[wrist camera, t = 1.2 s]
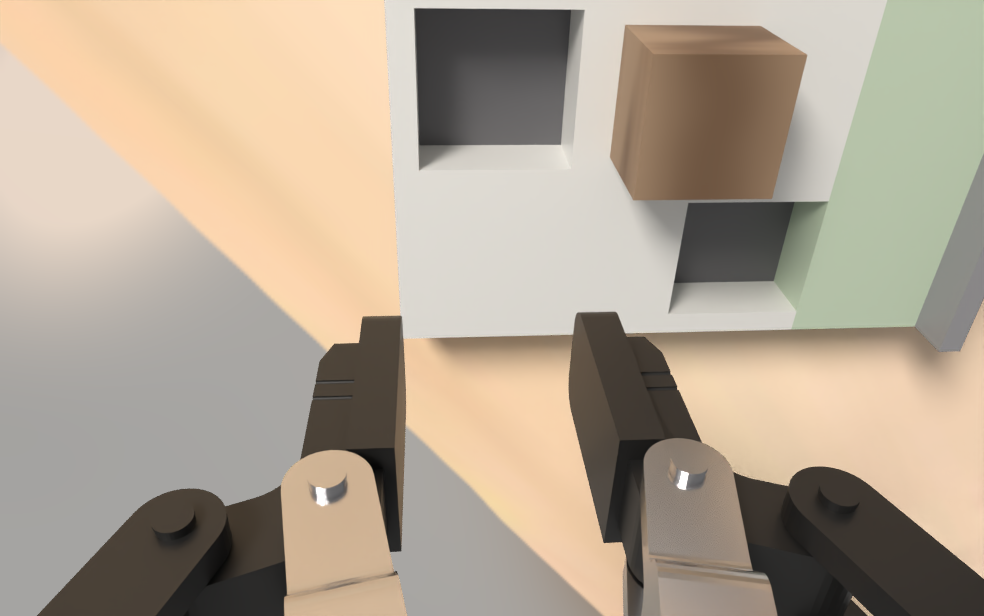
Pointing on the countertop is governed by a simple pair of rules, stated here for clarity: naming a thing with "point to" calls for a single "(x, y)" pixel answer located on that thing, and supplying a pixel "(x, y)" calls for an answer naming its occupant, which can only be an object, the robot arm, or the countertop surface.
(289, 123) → the countertop surface
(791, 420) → the countertop surface
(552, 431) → the countertop surface
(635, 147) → the walnut block
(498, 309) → the box
